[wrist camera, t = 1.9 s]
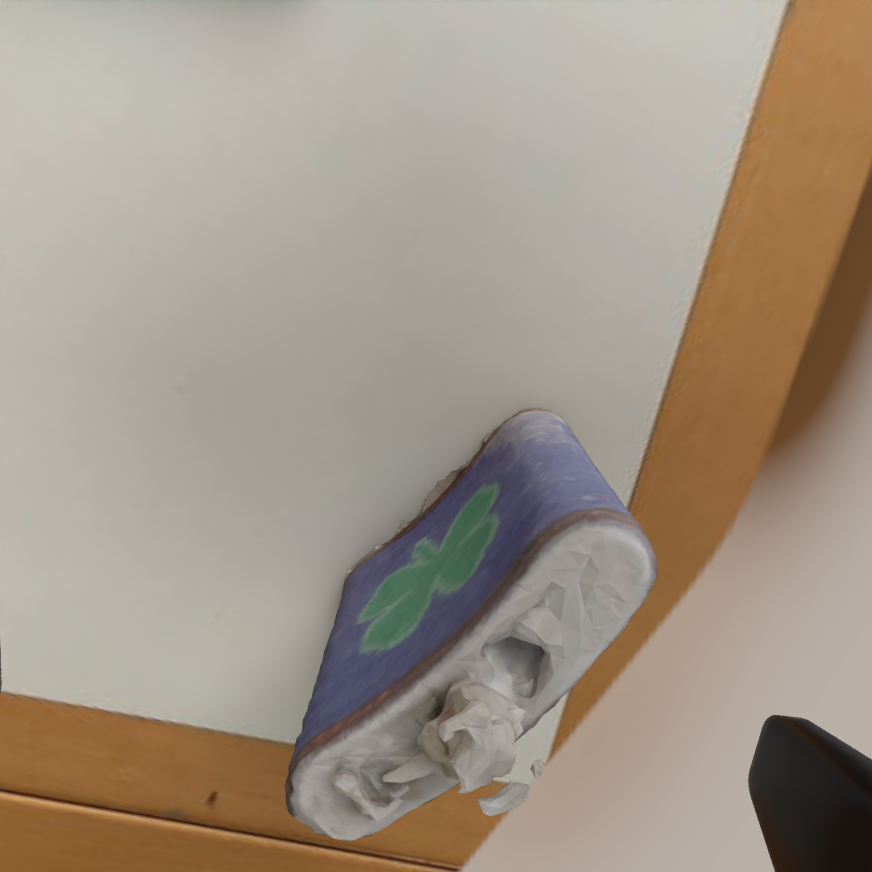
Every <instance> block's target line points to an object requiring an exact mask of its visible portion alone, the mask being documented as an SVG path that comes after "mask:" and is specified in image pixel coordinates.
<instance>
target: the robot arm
mask: <svg viewBox="0 0 872 872" xmlns="http://www.w3.org/2000/svg"><path fill="white" fill-rule="evenodd" d="M1 684H2V681H1V648H0V692H1ZM748 782H749V791H750V795H751V799H752V802H753V805H754V808H755V811H756V814H757V817H758V821H759V824H760V827H761V830H762V833H763V836H764V839H765V842H766V845H767V848H768V851H769V854H770V858H771V860H772V864H773V867H774V870H775V872H872V759H870V758H868V757H867V756H865V755H863V754H862V753H860V752H859V751H857V750H855V749H854V748H852V747H851V746H849V745H847V744H846V743H844V742H842V741H841V740H839V739H838V738H836V737H835V736H833V735H831V734H830V733H828V732H826V731H825V730H823V729H822V728H820V727H818V726H817V725H815V724H814V723H812V722H810V721H808V720H806V719H803V718H798V717H788V716H780V715H773V716H771V717H769V718H768V719H767V720H766V721H765V722H764V725H763V727H762V731H761V734H760V737H759V741H758V744H757V747H756V750H755V754H754V757H753V760H752V764H751V767H750V771H749V779H748Z"/></svg>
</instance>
